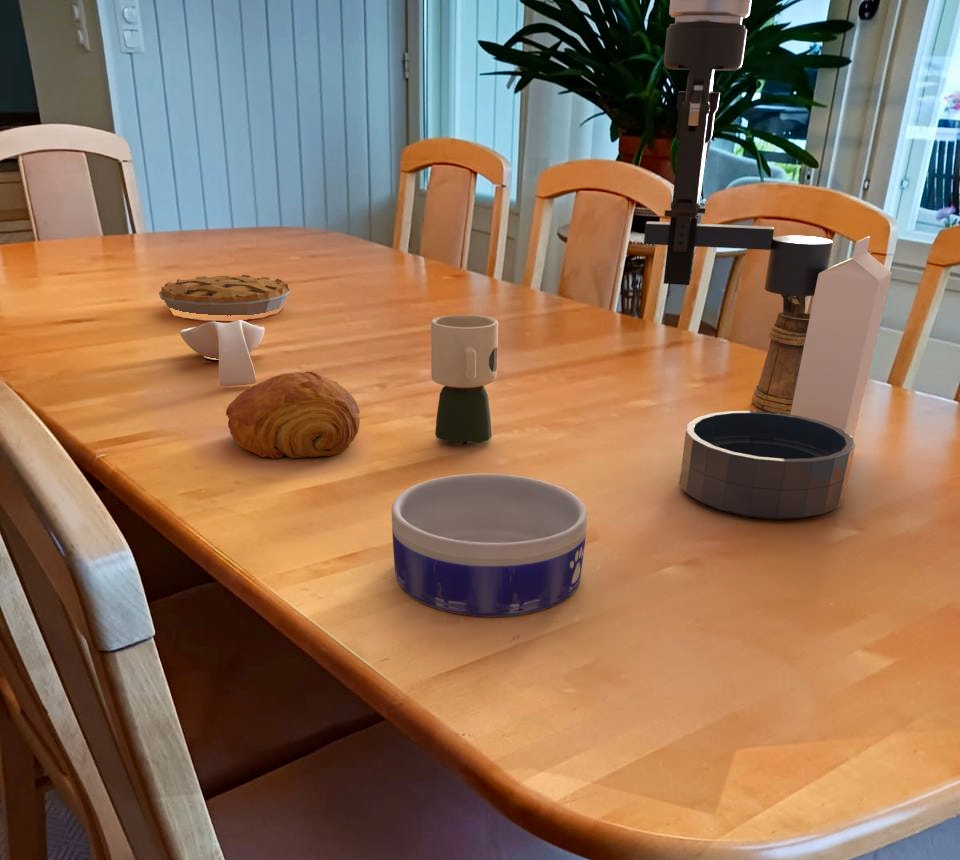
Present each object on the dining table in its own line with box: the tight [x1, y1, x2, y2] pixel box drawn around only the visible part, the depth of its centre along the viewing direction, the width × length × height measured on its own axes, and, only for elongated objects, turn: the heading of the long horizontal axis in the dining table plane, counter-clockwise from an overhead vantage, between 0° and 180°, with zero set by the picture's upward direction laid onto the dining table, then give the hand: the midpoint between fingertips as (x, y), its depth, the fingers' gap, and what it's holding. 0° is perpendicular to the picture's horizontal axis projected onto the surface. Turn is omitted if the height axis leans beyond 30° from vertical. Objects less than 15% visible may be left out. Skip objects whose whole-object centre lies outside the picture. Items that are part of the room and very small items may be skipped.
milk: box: [790, 235, 893, 439], centre depth 101 cm, size 6×6×22 cm
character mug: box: [430, 314, 499, 446], centre depth 105 cm, size 11×7×13 cm, turn 9°
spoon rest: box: [179, 320, 266, 387], centre depth 134 cm, size 24×12×7 cm, turn 19°
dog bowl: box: [391, 473, 588, 618], centre depth 77 cm, size 15×15×6 cm
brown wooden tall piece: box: [751, 294, 811, 415], centre depth 121 cm, size 9×14×18 cm, turn 178°
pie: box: [158, 274, 292, 316], centre depth 167 cm, size 22×22×5 cm
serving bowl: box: [678, 410, 856, 520], centre depth 94 cm, size 16×16×6 cm
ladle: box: [643, 220, 834, 297], centre depth 102 cm, size 19×6×6 cm, turn 77°
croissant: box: [225, 371, 361, 460], centre depth 106 cm, size 14×16×8 cm
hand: (677, 281), depth 104 cm, fingers closed on ladle, 2 cm apart
